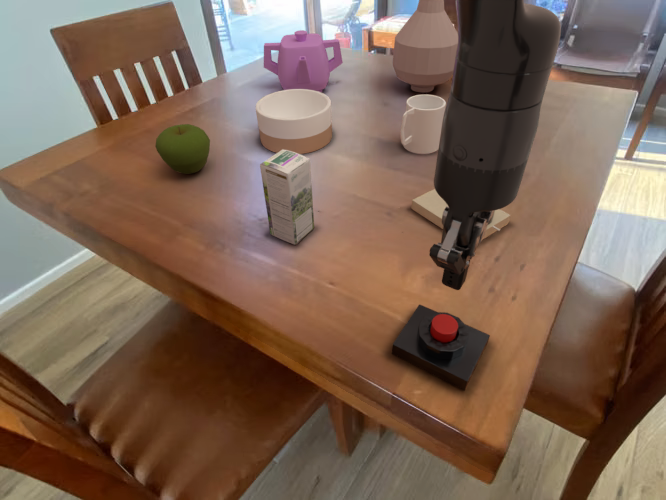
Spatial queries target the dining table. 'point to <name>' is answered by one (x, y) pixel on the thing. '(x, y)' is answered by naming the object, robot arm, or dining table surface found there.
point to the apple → (184, 148)
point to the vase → (426, 47)
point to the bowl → (294, 120)
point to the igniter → (440, 348)
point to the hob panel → (434, 206)
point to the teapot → (303, 60)
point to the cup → (422, 123)
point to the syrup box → (288, 195)
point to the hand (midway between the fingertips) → (452, 283)
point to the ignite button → (444, 328)
